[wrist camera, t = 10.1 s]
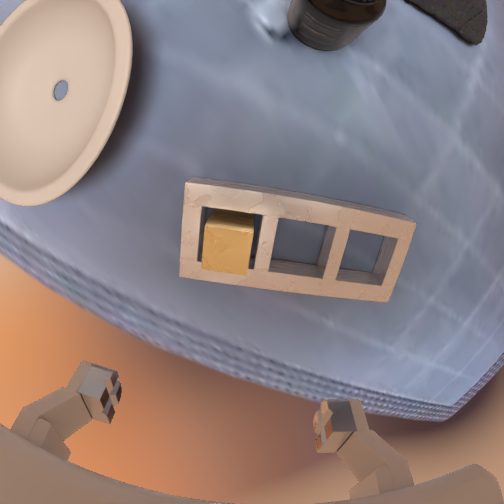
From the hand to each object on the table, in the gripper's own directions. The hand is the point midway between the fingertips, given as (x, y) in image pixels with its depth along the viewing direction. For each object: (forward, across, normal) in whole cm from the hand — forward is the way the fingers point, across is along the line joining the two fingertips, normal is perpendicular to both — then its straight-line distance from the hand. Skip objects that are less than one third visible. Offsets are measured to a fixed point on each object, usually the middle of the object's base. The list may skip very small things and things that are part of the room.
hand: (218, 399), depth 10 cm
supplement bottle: (+22, -4, -22) cm, 31 cm away
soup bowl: (+21, +23, -13) cm, 34 cm away
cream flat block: (+21, -6, +1) cm, 22 cm away
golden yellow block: (+21, +1, +1) cm, 21 cm away
